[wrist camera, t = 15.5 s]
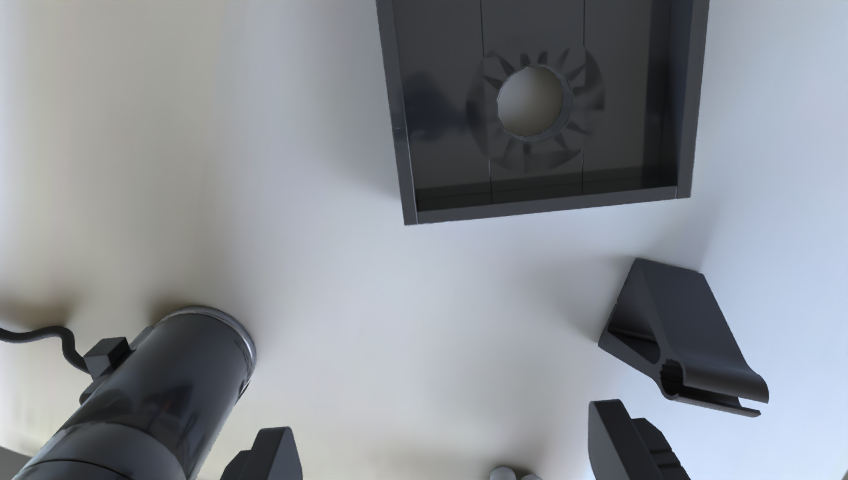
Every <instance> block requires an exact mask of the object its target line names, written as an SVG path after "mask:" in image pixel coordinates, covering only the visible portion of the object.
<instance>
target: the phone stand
mask: <svg viewBox="0 0 848 480" xmlns="http://www.w3.org/2000/svg"><path fill="white" fill-rule="evenodd" d="M598 346H599V347H600V348H601V349H603V350H605V351H606V352H608V353H610V354H611V355H613V356H615V357H616V358H618V359H620V360H622V361H623V362H625V363H627V364H628V365H630V366H632V367H633V368H635V369H637V370H638V371H640V372H642V373H644V374H645V375H647V376H649V377H650V378H652V379H653V380H654V381H655V382H656V383H657V385H658V387H659V388H660V390H661V393H662V394H663V396H664V397H665V398H666V399H668V400H672V401H677V402H682V403H687V404H691V405H696V406H701V407H705V408H710V409H715V410H719V411H724V412H729V413H733V414H738V415H743V416H748V417H757V416H759V415H761V413H760V411H759V410H755V409H750V408H745V407H742V406H741V405H740V403H739V399H738V397H740V398H745V399H749V400H754V401H759V402H763V403H768V401H769V391H768V387H767V384H766V382H765V381H764V379H763V378H762V377H761V376H760V375H758V374H757V373H755V372H754V371H753V370H752V369H751V368H750V367H749V366H748V364H747V363H746V361H745V359H744V357H743V355H742V353H741V351H740V349H739V347H738V345H737V343H736V341H735V338H734V336H733V334H732V332H731V330H730V328H729V326H728V324H727V322H726V320H725V318H724V316H723V314H722V312H721V310H720V308H719V305H718V303H717V301H716V299H715V297H714V295H713V293H712V291H711V289H710V287H709V285H708V283H707V281H706V279H705V277H704V275H703V274H701V273H697V272H693V271H688V270H684V269H680V268H676V267H672V266H667V265H663V264H659V263H655V262H651V261H646V260H642V259H638V258H636V259H635V261H634V263H633V265H632V268H631V270H630V272H629V274H628V277H627V279H626V281H625V283H624V286H623V288H622V290H621V292H620V295H619V297H618V299H617V304H615V306H614V308H613V310H612V313H611V315H610V317H609V319H608V322H607V324H606V326H605V328H604V331H603V333H602V335H601V337H600V339H599V342H598Z"/></svg>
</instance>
